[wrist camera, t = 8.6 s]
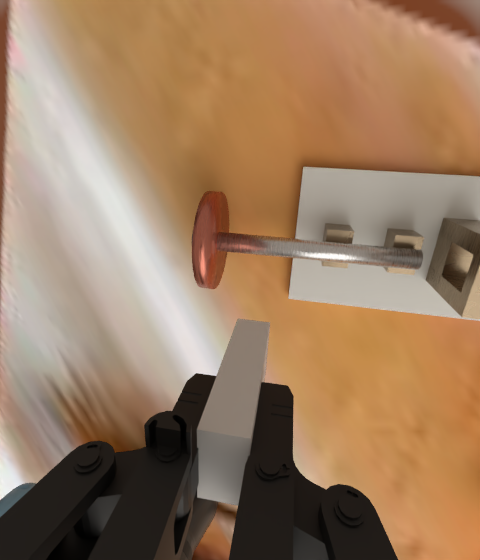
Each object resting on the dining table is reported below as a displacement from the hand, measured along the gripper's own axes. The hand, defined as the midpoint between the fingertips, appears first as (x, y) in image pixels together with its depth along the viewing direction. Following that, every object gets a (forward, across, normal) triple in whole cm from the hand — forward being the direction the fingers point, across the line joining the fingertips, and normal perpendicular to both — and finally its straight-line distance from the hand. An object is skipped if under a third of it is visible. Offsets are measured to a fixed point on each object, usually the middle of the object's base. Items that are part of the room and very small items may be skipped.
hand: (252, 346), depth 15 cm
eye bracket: (+20, +12, +1) cm, 23 cm away
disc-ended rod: (+21, +3, +1) cm, 21 cm away
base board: (+21, +12, +1) cm, 24 cm away
